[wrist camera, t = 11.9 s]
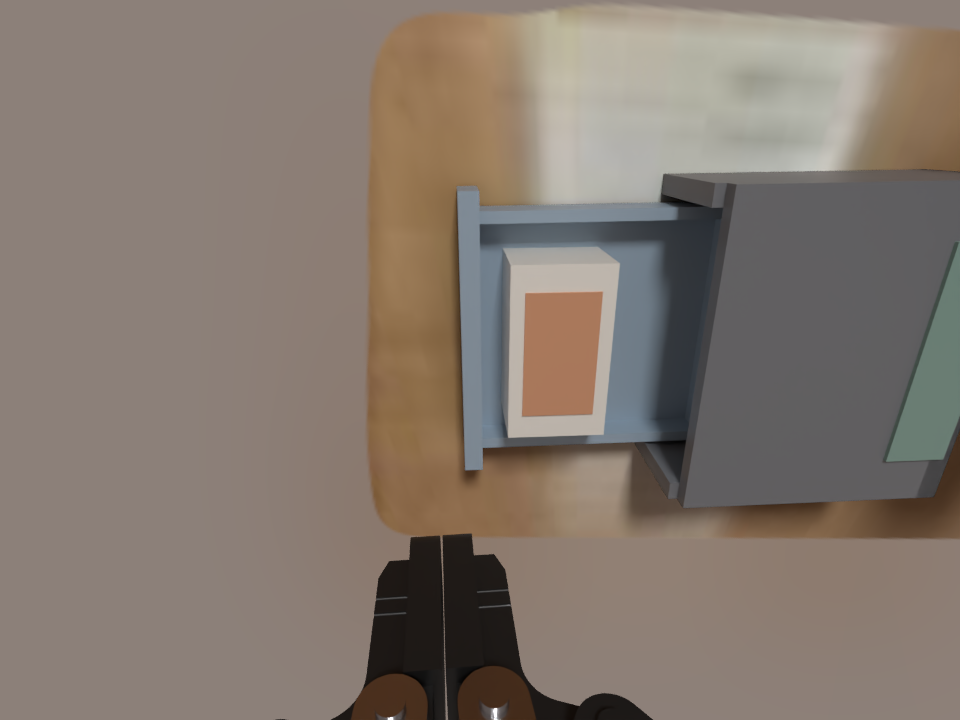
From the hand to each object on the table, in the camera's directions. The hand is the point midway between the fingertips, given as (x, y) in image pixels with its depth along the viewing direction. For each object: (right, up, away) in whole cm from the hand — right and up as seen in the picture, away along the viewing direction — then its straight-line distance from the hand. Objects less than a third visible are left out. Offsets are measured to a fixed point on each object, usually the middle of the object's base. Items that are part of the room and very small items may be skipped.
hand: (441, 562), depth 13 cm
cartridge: (+5, +7, +16) cm, 18 cm away
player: (+18, +7, +18) cm, 26 cm away
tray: (+7, +7, +17) cm, 20 cm away
